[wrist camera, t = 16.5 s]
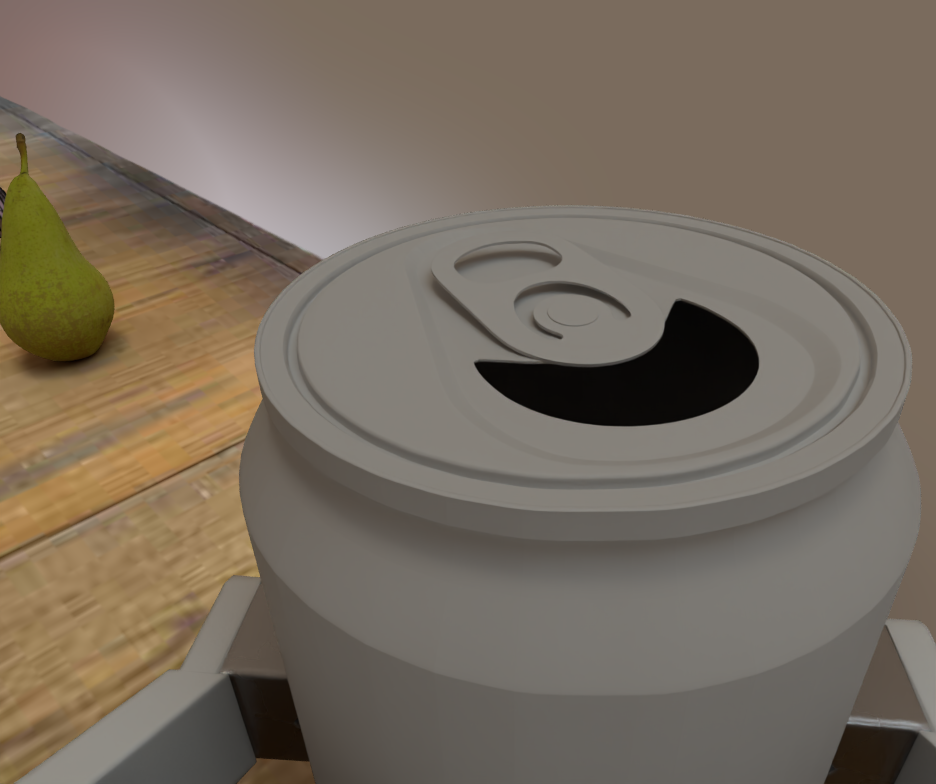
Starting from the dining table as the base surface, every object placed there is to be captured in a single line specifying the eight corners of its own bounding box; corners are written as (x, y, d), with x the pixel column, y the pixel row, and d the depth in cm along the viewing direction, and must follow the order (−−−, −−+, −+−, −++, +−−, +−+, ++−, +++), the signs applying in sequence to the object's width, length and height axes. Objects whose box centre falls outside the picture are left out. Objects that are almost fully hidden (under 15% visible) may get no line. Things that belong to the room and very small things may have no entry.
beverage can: (473, 1291, 10) (375, 747, 3) (315, 838, 14) (148, 255, 8) (822, 999, 12) (1171, 351, 6) (586, 694, 17) (627, 156, 10)
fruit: (22, 393, 40) (-76, 167, 33) (18, 347, 44) (-69, 140, 38) (135, 364, 42) (65, 146, 36) (121, 322, 46) (56, 122, 40)
